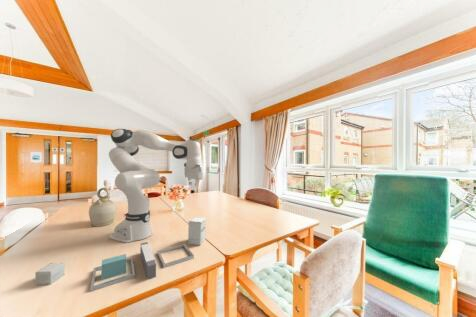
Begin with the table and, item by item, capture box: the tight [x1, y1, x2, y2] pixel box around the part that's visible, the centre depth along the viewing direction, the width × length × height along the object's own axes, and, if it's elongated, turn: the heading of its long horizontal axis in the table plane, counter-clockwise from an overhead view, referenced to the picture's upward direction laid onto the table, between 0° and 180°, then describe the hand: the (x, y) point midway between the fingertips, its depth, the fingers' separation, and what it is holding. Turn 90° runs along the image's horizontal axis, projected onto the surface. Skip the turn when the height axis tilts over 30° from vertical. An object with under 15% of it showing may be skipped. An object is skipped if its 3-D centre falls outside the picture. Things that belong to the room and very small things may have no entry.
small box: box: [34, 262, 66, 286], centre depth 67 cm, size 6×6×5 cm
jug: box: [88, 187, 117, 227], centre depth 124 cm, size 15×16×25 cm
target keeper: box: [89, 257, 136, 292], centre depth 71 cm, size 14×14×1 cm
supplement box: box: [187, 216, 207, 246], centre depth 99 cm, size 7×7×13 cm
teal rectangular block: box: [100, 253, 127, 281], centre depth 71 cm, size 8×4×6 cm, turn 125°
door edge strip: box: [139, 241, 157, 280], centre depth 78 cm, size 22×3×5 cm, turn 35°
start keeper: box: [156, 243, 195, 268], centre depth 85 cm, size 14×14×1 cm
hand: (193, 185), depth 116 cm, fingers open, 8 cm apart
